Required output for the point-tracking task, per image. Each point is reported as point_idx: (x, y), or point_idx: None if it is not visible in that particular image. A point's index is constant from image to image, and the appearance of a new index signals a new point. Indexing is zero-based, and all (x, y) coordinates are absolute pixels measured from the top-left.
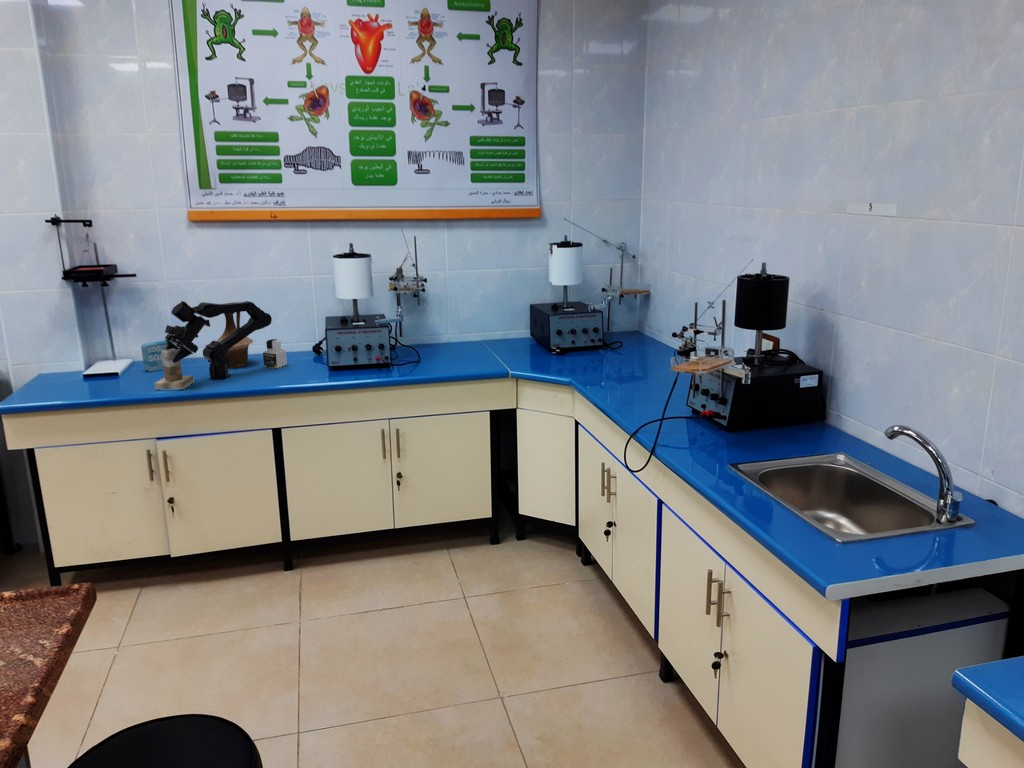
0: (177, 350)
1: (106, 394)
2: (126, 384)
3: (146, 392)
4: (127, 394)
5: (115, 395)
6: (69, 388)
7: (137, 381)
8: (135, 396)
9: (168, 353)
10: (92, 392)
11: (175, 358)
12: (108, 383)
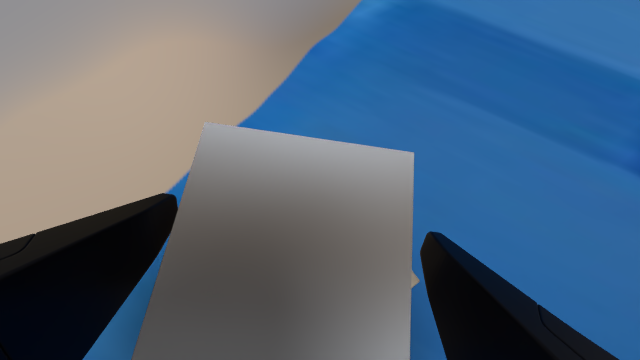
0: (168, 356)
1: (425, 42)
2: (523, 149)
3: (324, 130)
4: (361, 77)
5: (384, 50)
6: (602, 19)
7: (544, 203)
8: (306, 79)
9: (202, 160)
10: (490, 31)
11: (117, 214)
12: (590, 118)
